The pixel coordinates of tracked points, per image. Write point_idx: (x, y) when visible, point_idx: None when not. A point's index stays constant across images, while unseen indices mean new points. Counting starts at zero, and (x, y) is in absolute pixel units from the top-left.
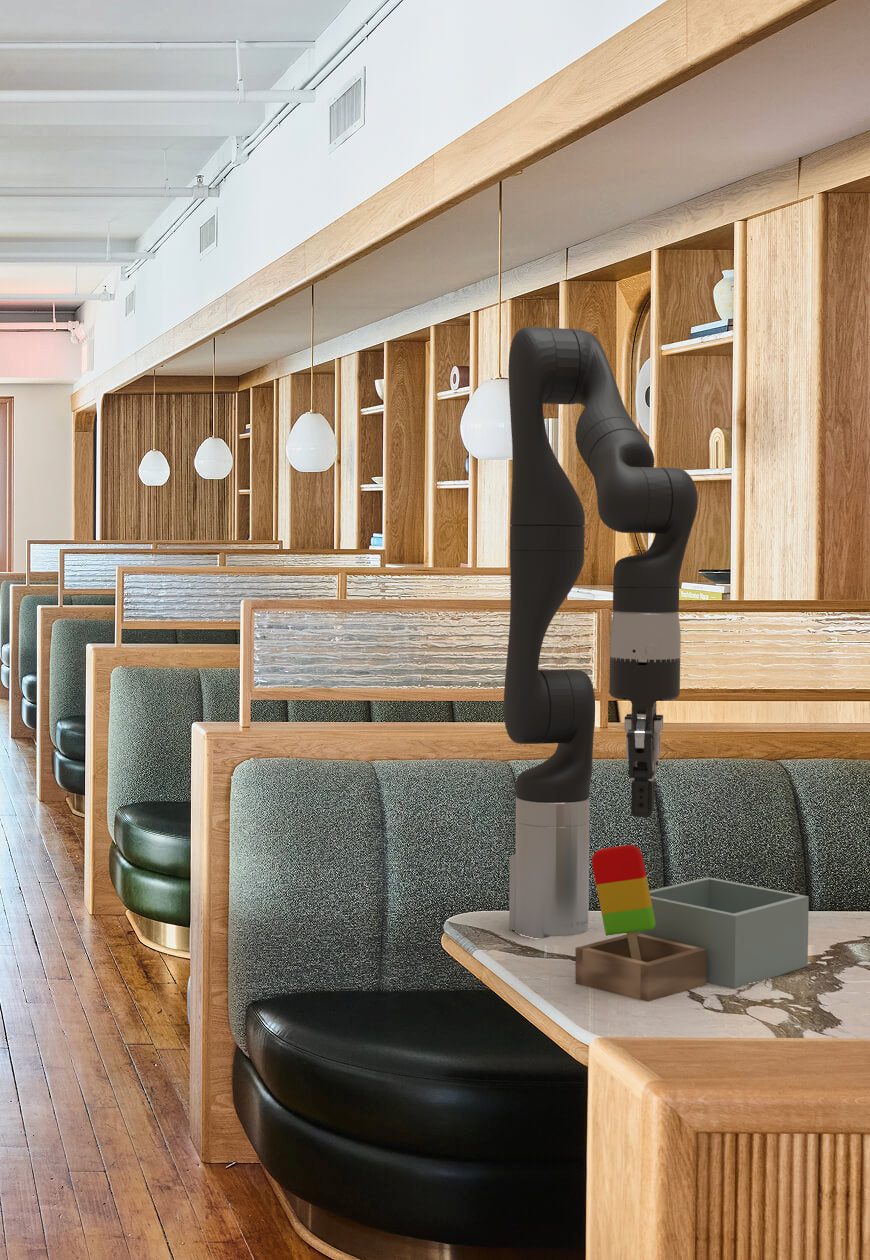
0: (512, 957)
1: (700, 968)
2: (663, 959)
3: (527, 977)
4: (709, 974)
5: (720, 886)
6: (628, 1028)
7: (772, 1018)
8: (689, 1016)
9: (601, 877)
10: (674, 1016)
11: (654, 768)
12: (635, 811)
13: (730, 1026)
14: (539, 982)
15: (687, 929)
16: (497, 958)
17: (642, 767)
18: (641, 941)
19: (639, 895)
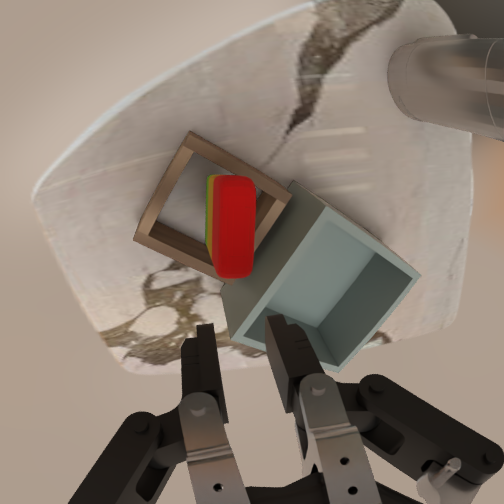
0: (289, 40)
1: None
2: (168, 250)
3: (203, 70)
4: None
5: (400, 288)
6: (59, 221)
7: (144, 326)
8: (117, 266)
9: (214, 190)
10: (111, 253)
11: (297, 436)
12: (186, 341)
13: (106, 300)
14: (185, 88)
15: (263, 268)
16: (280, 24)
17: (149, 462)
18: (270, 205)
19: (209, 245)
